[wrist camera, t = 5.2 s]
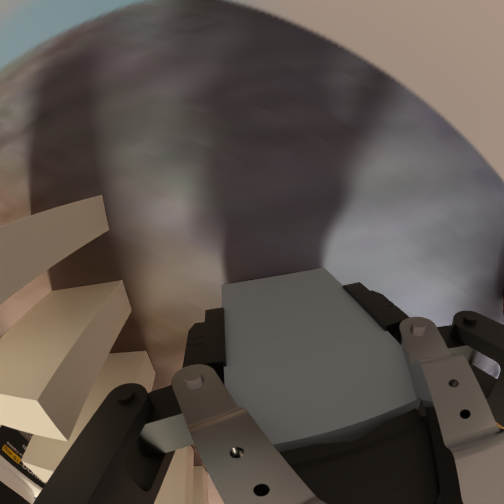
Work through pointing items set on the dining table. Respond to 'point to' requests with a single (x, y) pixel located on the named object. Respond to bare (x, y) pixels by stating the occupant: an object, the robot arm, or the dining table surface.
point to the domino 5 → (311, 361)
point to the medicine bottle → (16, 469)
